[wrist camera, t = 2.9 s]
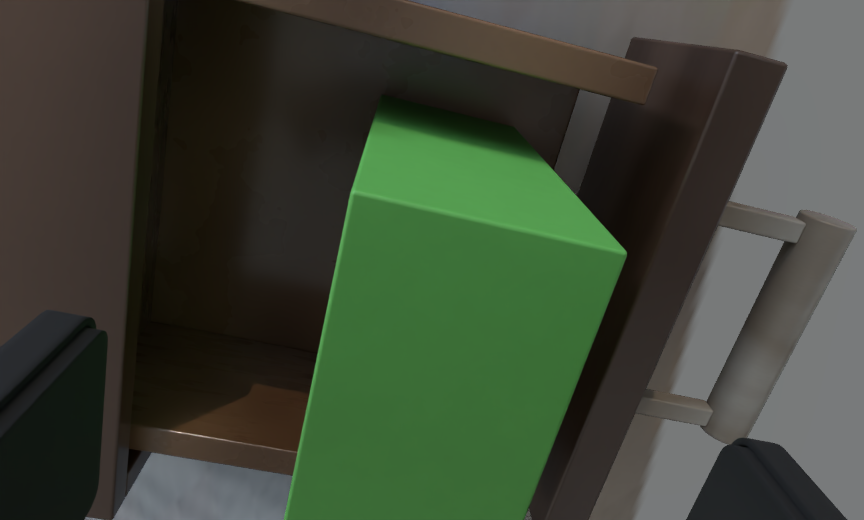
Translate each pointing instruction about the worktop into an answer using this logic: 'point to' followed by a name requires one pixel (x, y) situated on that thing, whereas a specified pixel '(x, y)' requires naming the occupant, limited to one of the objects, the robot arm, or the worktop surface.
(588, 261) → the green rectangular prism
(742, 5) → the worktop surface
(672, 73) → the drawer
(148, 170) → the cabinet
